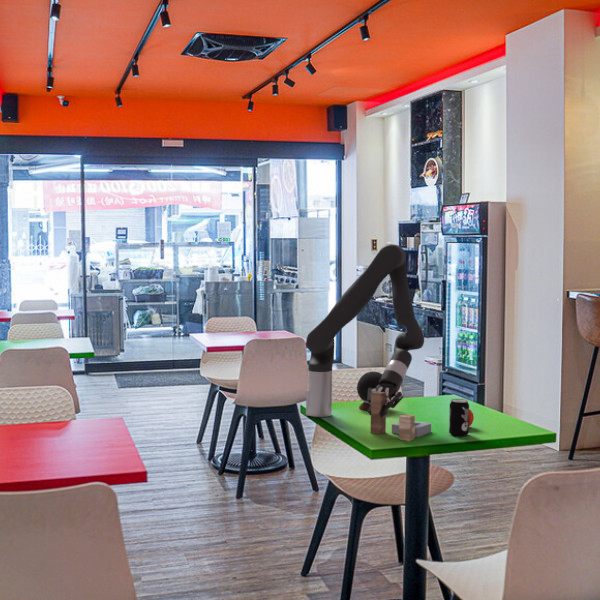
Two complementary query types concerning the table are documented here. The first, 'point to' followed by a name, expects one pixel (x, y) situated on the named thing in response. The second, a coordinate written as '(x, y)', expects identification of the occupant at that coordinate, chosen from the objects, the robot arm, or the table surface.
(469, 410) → the apple
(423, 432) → the socket block
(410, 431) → the birch peg
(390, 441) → the table surface
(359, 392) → the dark ball
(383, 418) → the walnut peg
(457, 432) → the beverage can
